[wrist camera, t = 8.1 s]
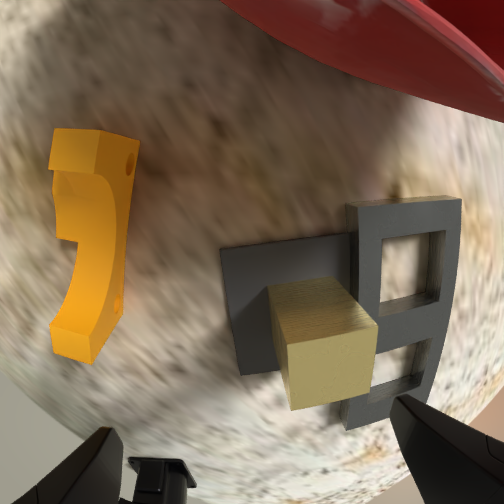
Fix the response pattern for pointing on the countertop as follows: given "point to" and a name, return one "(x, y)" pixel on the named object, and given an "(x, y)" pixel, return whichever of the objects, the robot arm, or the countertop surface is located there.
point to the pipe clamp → (91, 233)
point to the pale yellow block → (321, 341)
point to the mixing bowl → (399, 44)
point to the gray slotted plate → (407, 308)
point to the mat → (269, 273)
